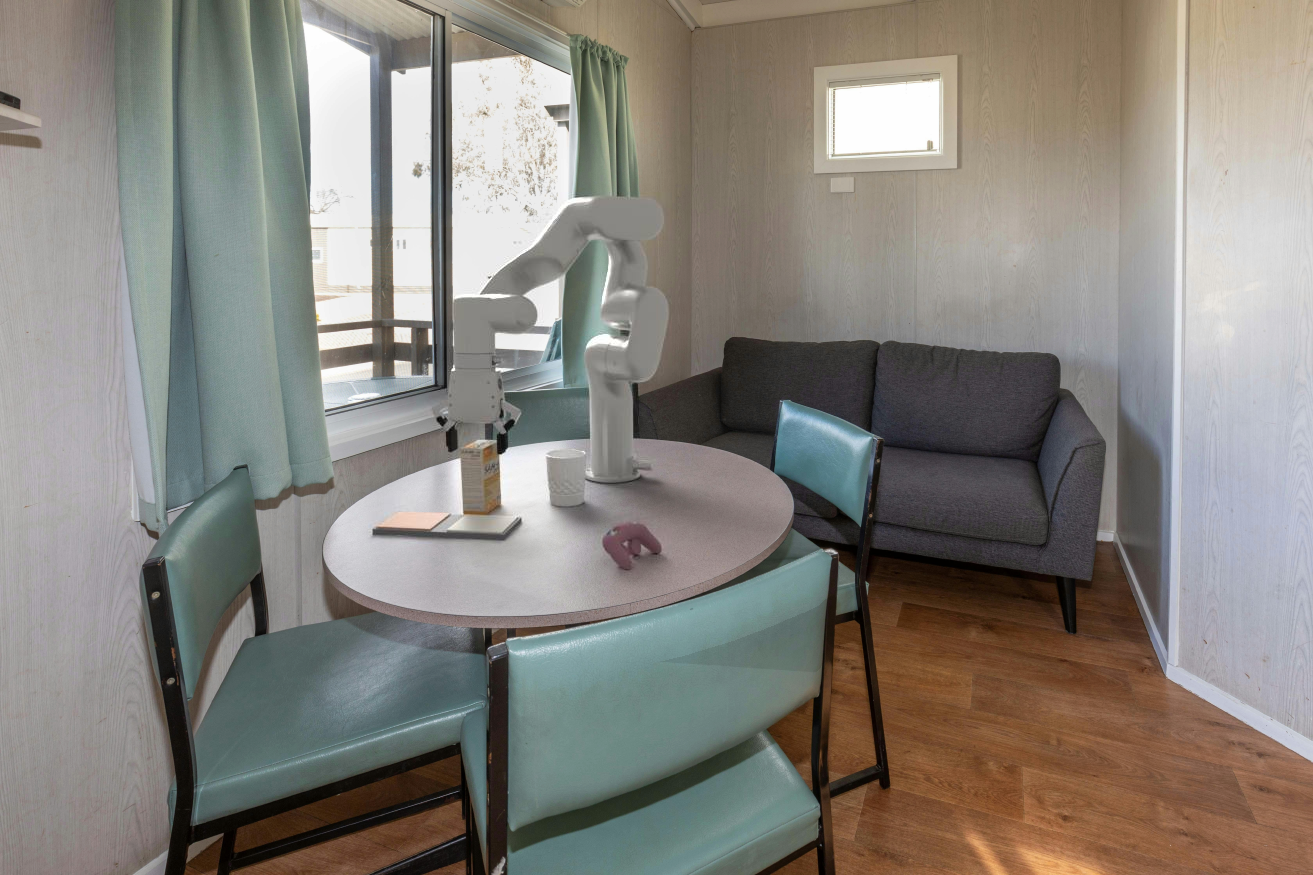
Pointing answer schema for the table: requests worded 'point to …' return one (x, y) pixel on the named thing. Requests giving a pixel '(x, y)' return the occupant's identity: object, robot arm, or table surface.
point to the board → (449, 525)
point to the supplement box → (480, 477)
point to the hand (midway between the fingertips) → (477, 451)
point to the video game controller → (629, 542)
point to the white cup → (566, 476)
